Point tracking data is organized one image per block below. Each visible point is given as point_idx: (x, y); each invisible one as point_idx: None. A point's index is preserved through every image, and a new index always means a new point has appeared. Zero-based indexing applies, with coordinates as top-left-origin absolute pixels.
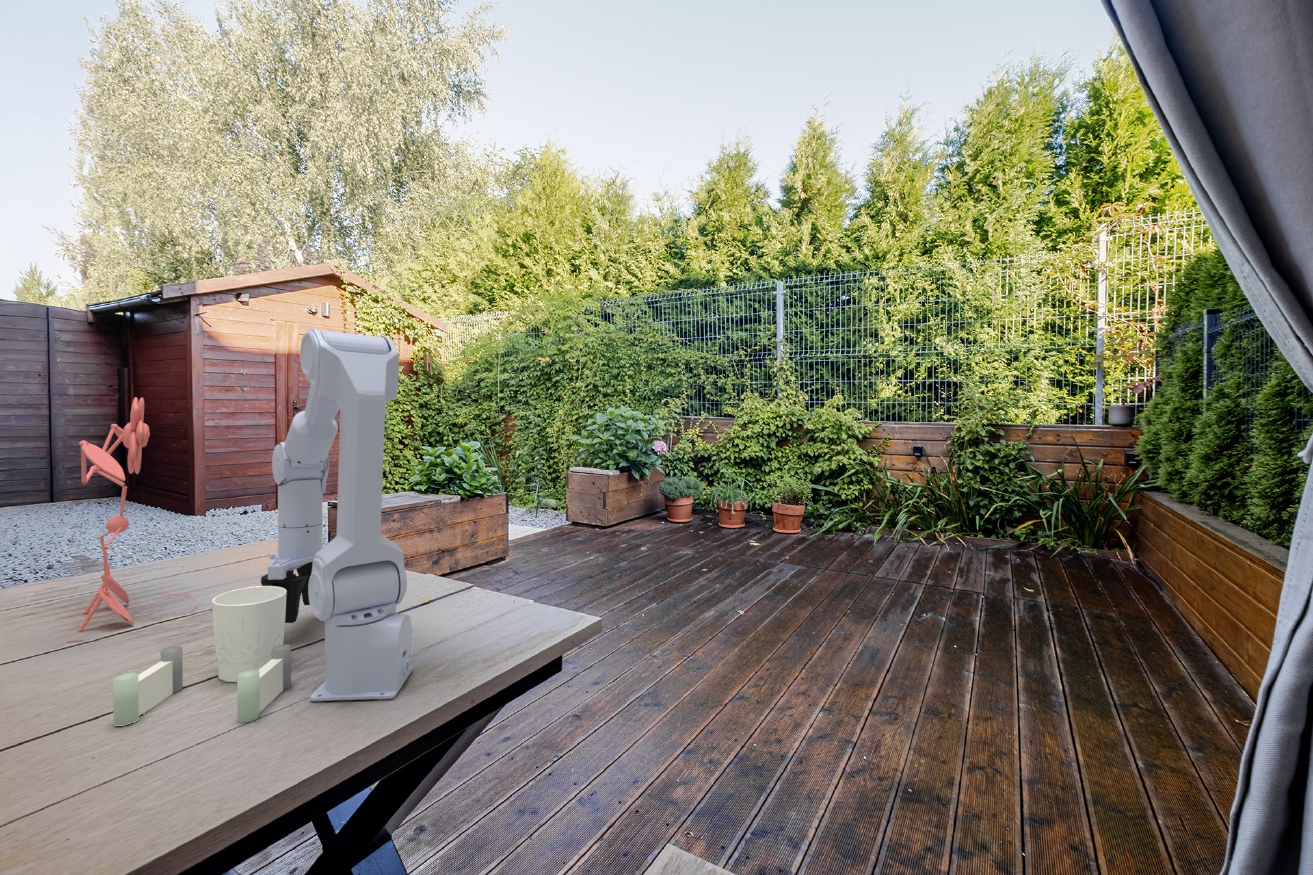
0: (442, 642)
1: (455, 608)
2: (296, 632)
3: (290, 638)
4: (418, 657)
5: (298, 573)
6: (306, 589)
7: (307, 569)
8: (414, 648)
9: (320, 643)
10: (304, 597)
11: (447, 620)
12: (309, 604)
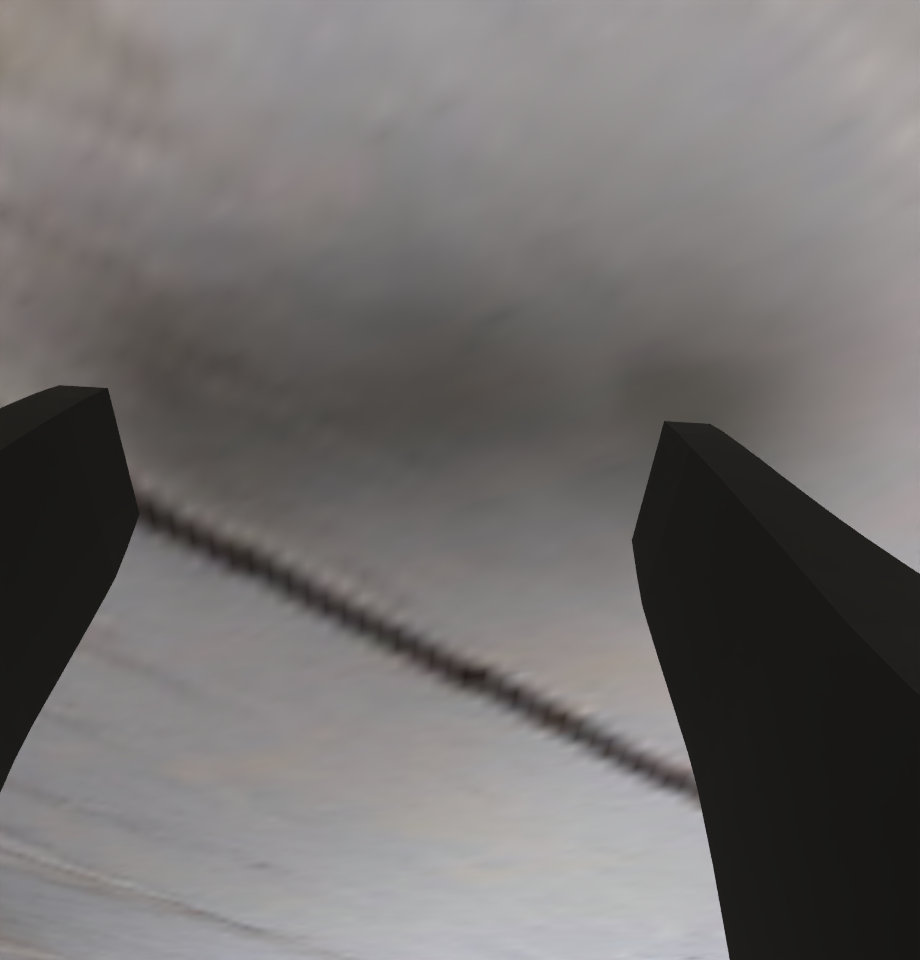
0: (245, 934)
1: (676, 933)
2: (392, 344)
3: (251, 348)
4: (79, 902)
5: (916, 705)
6: (727, 570)
7: (871, 913)
8: (169, 885)
9: (174, 568)
10: (689, 480)
11: (510, 926)
12: (649, 477)
